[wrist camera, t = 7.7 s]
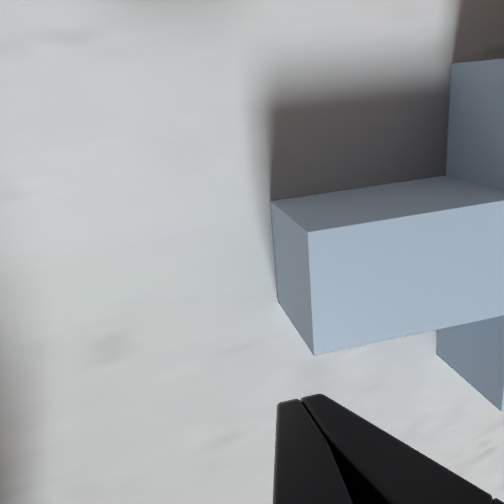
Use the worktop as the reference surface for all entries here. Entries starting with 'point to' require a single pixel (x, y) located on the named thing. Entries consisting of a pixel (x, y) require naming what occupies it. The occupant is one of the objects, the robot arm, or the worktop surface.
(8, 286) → the worktop surface
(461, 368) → the t block
